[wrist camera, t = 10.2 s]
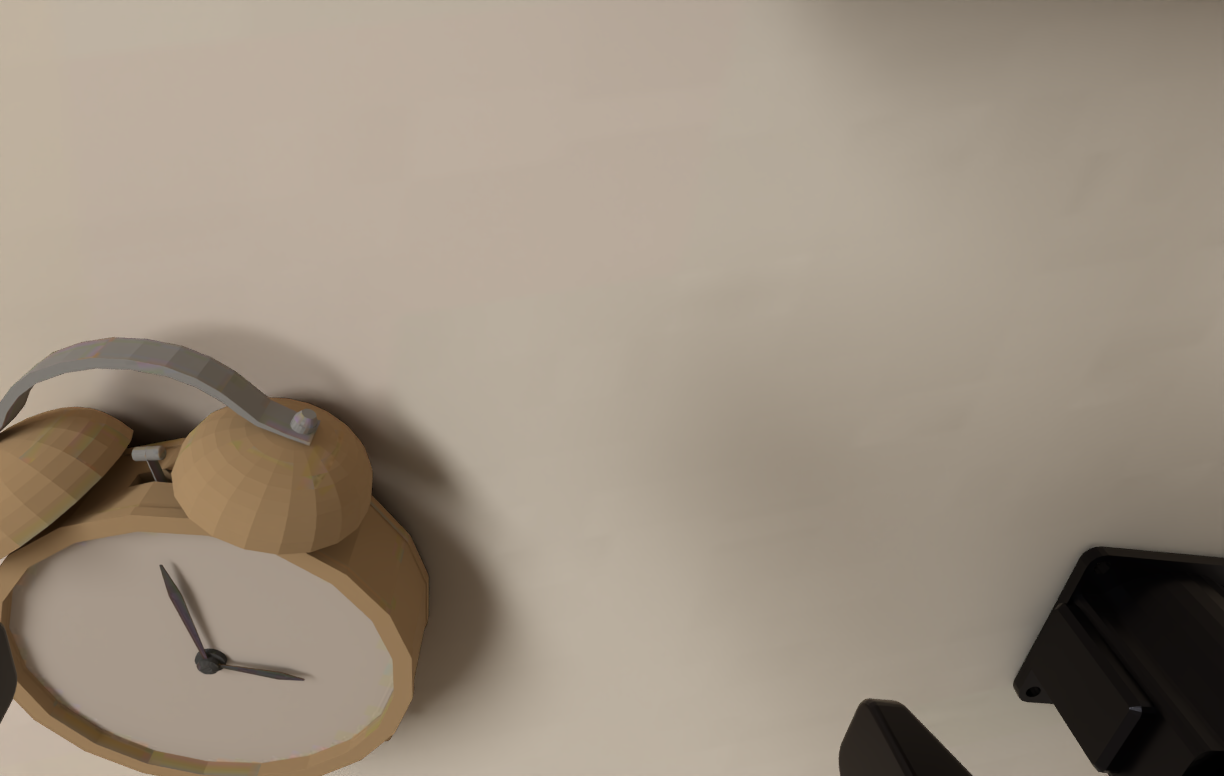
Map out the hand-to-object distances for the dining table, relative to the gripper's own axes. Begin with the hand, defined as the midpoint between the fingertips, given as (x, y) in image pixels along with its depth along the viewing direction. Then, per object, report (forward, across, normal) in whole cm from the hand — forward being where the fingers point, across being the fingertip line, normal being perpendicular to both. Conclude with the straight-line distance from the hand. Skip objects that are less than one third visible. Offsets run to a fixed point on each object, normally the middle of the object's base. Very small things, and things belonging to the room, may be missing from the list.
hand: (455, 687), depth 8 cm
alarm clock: (+13, +8, +10) cm, 18 cm away
